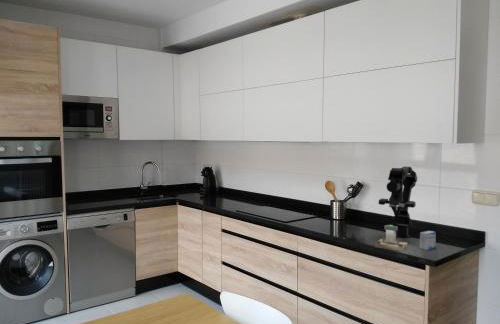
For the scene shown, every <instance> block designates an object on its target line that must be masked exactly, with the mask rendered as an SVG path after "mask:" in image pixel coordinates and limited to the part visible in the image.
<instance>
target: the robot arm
mask: <svg viewBox="0 0 500 324" xmlns="http://www.w3.org/2000/svg"><path fill="white" fill-rule="evenodd" d="M387 180H388V181H389V182H388V183H387V184H386V190H387V191H388V192H389V193H390V197H389V198H380V199H379V200H378V205H381V206H383V205H386V204H388V205H389V206H388V207H389V208H391V210H392V212H393V215H394V216H393V217H394V218H393V224H394V225H393V226H398V229H397V231H396V238H397V237H398V238H403V239H405V238H410V237H411V235H410V234H409V228H412V220H411V216H410V213H409V208H415V207H416V205H417V203H416V202H415V201H414V200H411V195H412V189H413V188H414V187H415V186H416V183H417V182H418V176H417V172H415V170H414V169H413V168H412V166H402V167H392V168H391V169H390V171H389V174H388V178H387Z"/></svg>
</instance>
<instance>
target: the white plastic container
mask: <svg viewBox="0 0 500 324" xmlns="http://www.w3.org/2000/svg"><path fill="white" fill-rule="evenodd" d="M397 229H398V226H394V225H393V224H386V225H384V230H385V241H387V242H397V239H396V238H397V236H396V235H397Z"/></svg>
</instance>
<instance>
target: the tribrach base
mask: <svg viewBox="0 0 500 324" xmlns="http://www.w3.org/2000/svg"><path fill="white" fill-rule="evenodd" d="M385 238H386V236H382V238H380V239H379V240H376V241H375V243H374V248H380V249H386V250H392V251H400V252H404V251H405V250H406V249H407V248H408V246H409V243H408V242H406V241H401V240H400V238H397V239H396V240H397V242H387V241H385Z"/></svg>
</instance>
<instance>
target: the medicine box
mask: <svg viewBox="0 0 500 324" xmlns="http://www.w3.org/2000/svg"><path fill="white" fill-rule="evenodd" d="M436 233H437V232H436V231H433V230H427V231H426V230H425V231H421V232H419V249H422V250H425V251H430V250H433V249H436V242H437V241H436V239H437V238H436V235H437V234H436Z"/></svg>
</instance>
